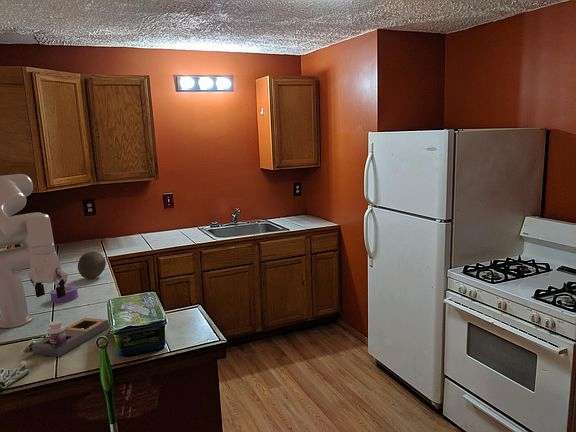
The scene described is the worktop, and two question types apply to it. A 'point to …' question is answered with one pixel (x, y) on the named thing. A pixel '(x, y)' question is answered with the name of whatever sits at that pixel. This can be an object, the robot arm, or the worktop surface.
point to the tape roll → (70, 295)
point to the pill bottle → (56, 333)
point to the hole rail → (71, 337)
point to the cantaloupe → (91, 265)
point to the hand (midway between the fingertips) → (51, 296)
